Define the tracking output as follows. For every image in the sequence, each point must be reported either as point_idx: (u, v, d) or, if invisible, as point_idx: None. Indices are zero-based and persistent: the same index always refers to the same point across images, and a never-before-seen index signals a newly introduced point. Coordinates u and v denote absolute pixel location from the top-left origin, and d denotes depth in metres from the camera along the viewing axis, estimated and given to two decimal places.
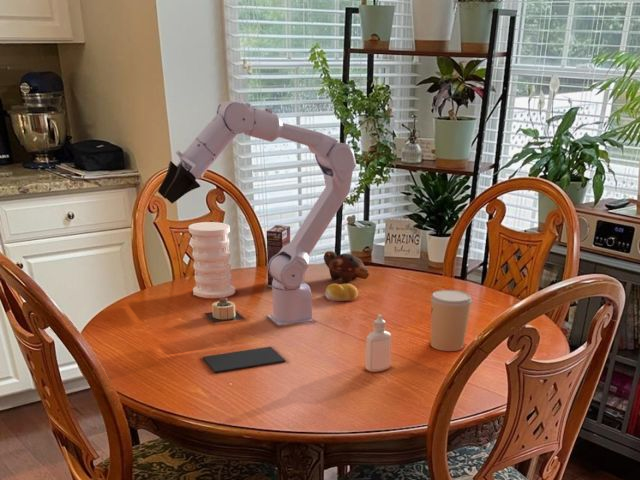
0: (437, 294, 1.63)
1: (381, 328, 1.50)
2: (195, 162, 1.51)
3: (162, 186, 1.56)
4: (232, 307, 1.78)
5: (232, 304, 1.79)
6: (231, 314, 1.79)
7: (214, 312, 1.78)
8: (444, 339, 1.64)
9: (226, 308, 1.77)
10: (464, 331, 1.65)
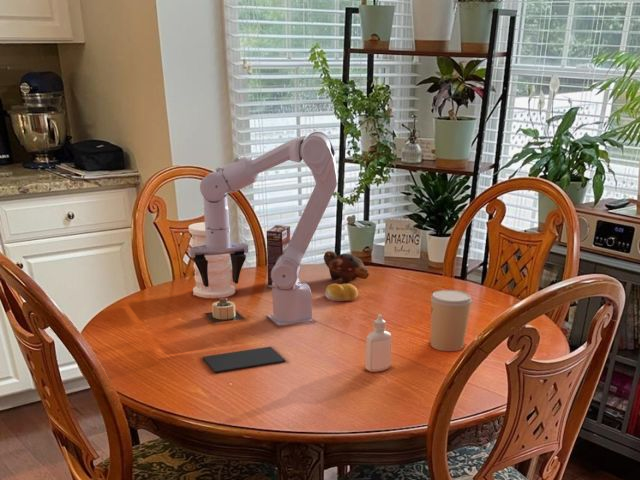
0: (437, 294, 1.63)
1: (381, 328, 1.50)
2: (206, 244, 1.71)
3: (232, 275, 1.78)
4: (232, 307, 1.78)
5: (232, 304, 1.79)
6: (231, 314, 1.79)
7: (214, 312, 1.78)
8: (444, 339, 1.64)
9: (226, 308, 1.77)
10: (464, 331, 1.65)
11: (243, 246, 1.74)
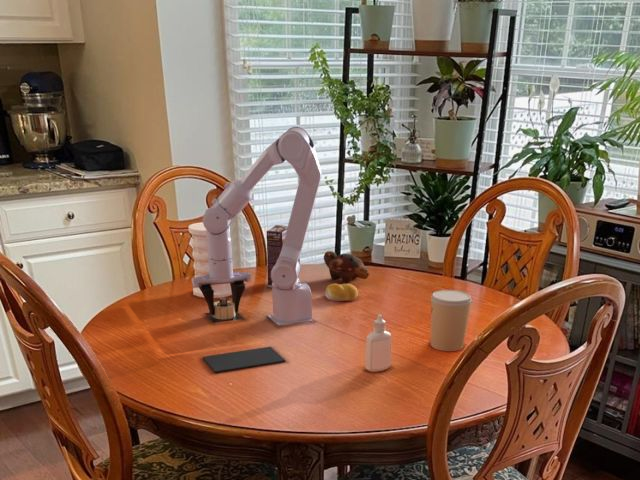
0: (437, 294, 1.63)
1: (381, 328, 1.50)
2: None
3: None
4: (232, 307, 1.78)
5: (232, 304, 1.79)
6: (231, 314, 1.79)
7: None
8: (444, 339, 1.64)
9: (226, 308, 1.77)
10: (464, 331, 1.65)
11: (245, 275, 1.77)
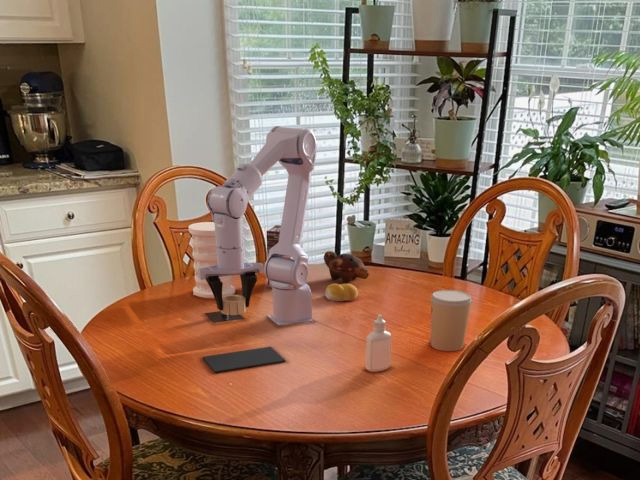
0: (437, 294, 1.63)
1: (381, 328, 1.50)
2: None
3: None
4: (242, 301, 1.60)
5: (242, 298, 1.61)
6: (241, 309, 1.60)
7: None
8: (444, 339, 1.64)
9: (236, 302, 1.59)
10: (464, 331, 1.65)
11: (258, 266, 1.59)
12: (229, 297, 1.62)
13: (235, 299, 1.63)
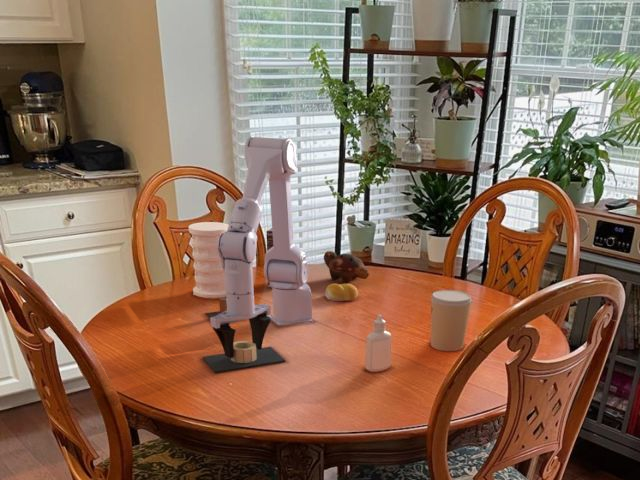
0: (437, 294, 1.63)
1: (381, 328, 1.50)
2: (228, 310, 1.50)
3: (253, 340, 1.58)
4: (255, 348, 1.55)
5: (253, 344, 1.56)
6: (254, 356, 1.56)
7: (235, 356, 1.54)
8: (444, 339, 1.64)
9: (250, 350, 1.54)
10: (464, 331, 1.65)
11: (266, 308, 1.55)
12: (237, 344, 1.57)
13: (243, 345, 1.58)
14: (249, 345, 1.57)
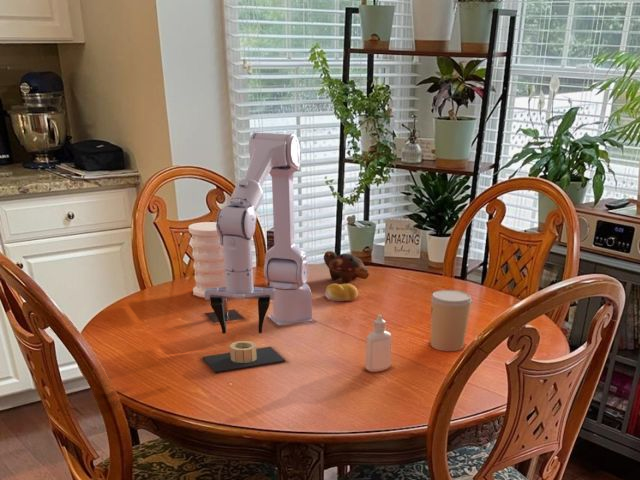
0: (437, 294, 1.63)
1: (381, 328, 1.50)
2: (253, 287, 1.49)
3: (225, 326, 1.52)
4: (255, 348, 1.55)
5: (253, 344, 1.56)
6: (254, 356, 1.56)
7: (235, 356, 1.54)
8: (444, 339, 1.64)
9: (250, 350, 1.54)
10: (464, 331, 1.65)
11: None
12: (237, 344, 1.57)
13: (243, 345, 1.58)
14: (249, 345, 1.57)
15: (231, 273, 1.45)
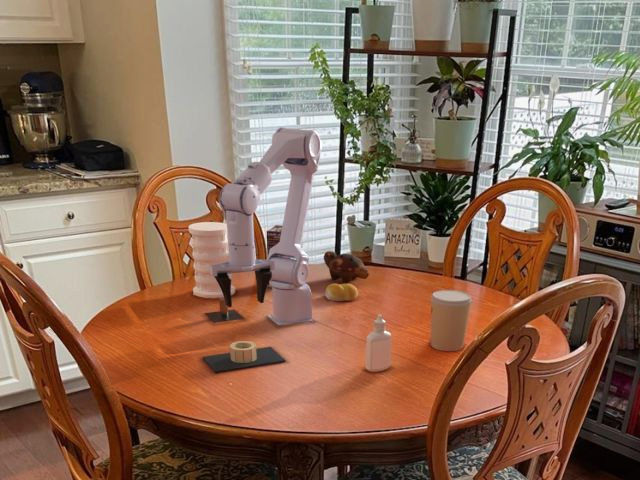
0: (437, 294, 1.63)
1: (381, 328, 1.50)
2: None
3: (231, 300, 1.60)
4: (255, 348, 1.55)
5: (253, 344, 1.56)
6: (254, 356, 1.56)
7: (235, 356, 1.54)
8: (444, 339, 1.64)
9: (250, 350, 1.54)
10: (464, 331, 1.65)
11: None
12: (237, 344, 1.57)
13: (243, 345, 1.58)
14: (249, 345, 1.57)
15: (239, 247, 1.53)
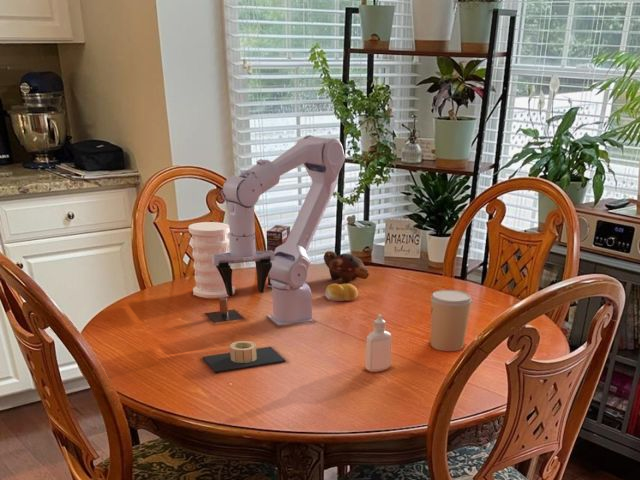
0: (437, 294, 1.63)
1: (381, 328, 1.50)
2: None
3: (231, 289, 1.65)
4: (255, 348, 1.55)
5: (253, 344, 1.56)
6: (254, 356, 1.56)
7: (235, 356, 1.54)
8: (444, 339, 1.64)
9: (250, 350, 1.54)
10: (464, 331, 1.65)
11: None
12: (237, 344, 1.57)
13: (243, 345, 1.58)
14: (249, 345, 1.57)
15: (240, 238, 1.59)
